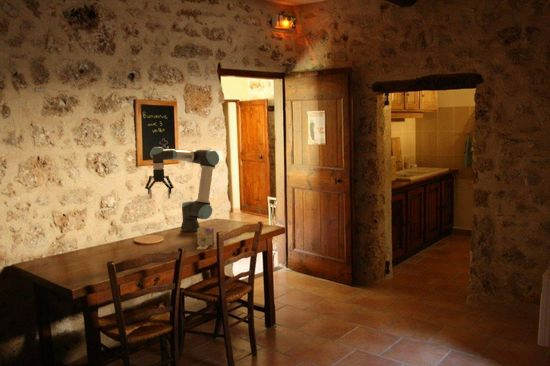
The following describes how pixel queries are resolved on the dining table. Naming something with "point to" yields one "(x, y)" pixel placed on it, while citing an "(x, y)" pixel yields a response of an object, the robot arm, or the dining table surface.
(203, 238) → the awl
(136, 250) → the dining table surface
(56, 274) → the dining table surface
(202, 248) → the joist line
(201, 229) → the box
